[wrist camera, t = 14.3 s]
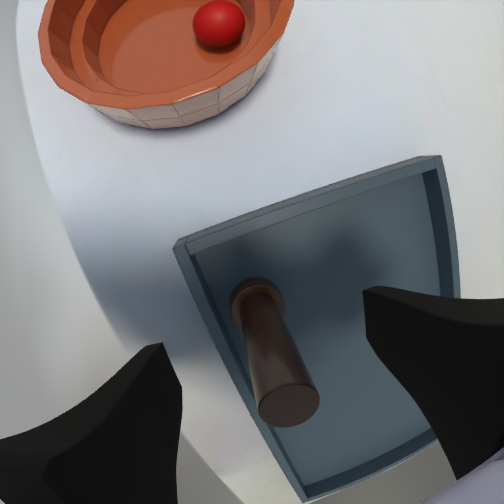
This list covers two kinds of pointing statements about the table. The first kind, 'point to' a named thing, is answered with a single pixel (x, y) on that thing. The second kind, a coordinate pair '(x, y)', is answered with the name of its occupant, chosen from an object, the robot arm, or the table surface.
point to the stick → (273, 355)
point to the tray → (333, 309)
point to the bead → (218, 23)
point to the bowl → (155, 57)
